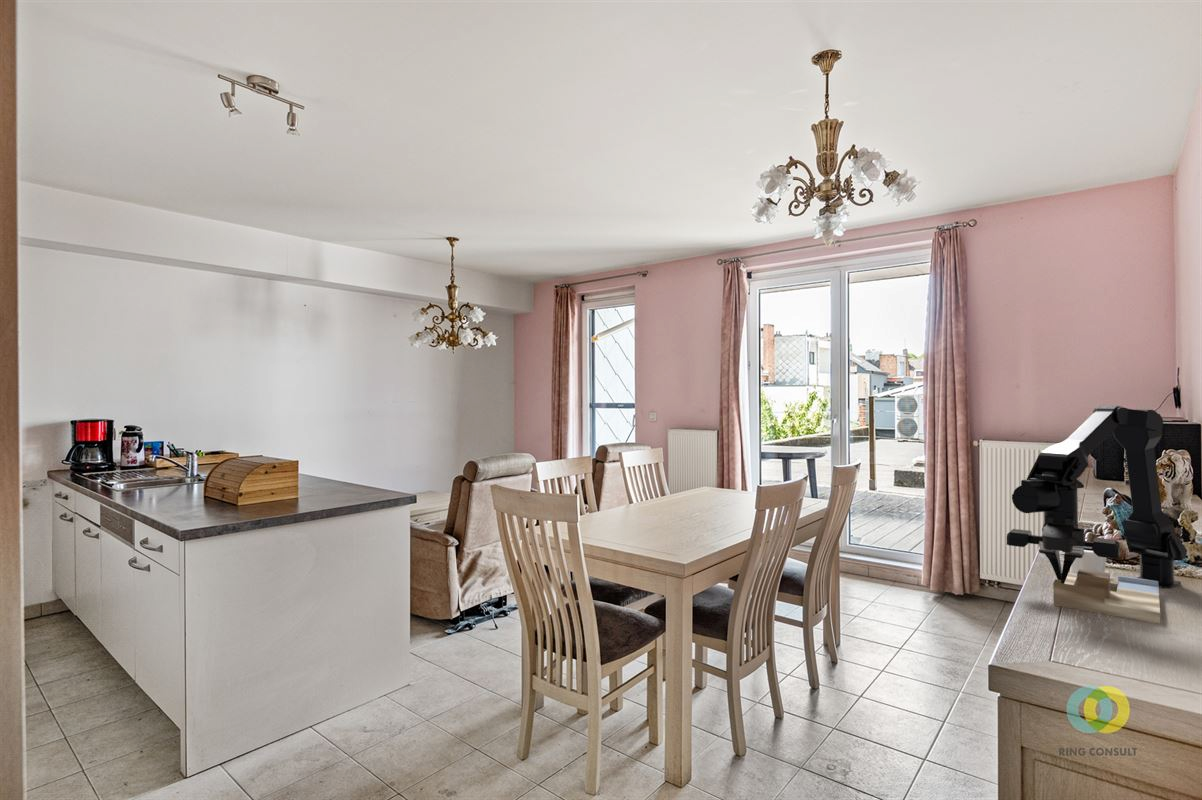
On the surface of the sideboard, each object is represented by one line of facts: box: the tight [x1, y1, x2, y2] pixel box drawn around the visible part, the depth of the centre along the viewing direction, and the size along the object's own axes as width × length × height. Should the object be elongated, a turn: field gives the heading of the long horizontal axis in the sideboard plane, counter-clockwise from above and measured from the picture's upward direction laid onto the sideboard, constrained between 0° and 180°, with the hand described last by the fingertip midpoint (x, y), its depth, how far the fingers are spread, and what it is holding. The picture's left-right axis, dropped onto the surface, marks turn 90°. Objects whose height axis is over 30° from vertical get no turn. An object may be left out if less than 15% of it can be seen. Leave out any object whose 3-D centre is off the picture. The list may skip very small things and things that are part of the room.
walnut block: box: [1077, 569, 1111, 599], centre depth 125 cm, size 5×5×4 cm
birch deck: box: [1052, 572, 1161, 625], centre depth 127 cm, size 22×16×4 cm
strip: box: [1117, 575, 1160, 595], centre depth 129 cm, size 8×6×3 cm
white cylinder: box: [1071, 550, 1107, 574], centre depth 141 cm, size 7×7×7 cm
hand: (1061, 583), depth 128 cm, fingers closed
